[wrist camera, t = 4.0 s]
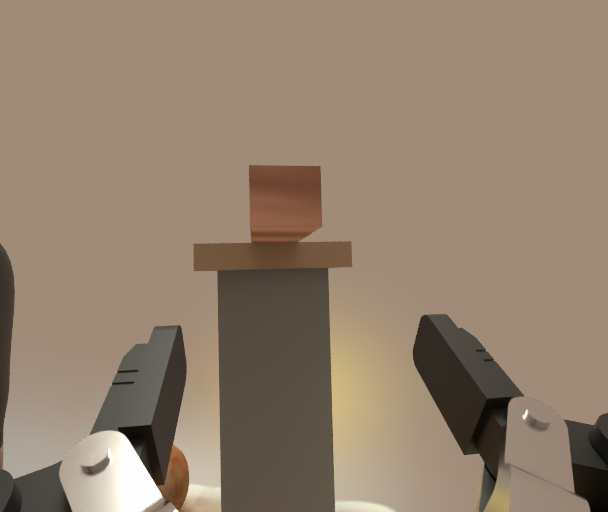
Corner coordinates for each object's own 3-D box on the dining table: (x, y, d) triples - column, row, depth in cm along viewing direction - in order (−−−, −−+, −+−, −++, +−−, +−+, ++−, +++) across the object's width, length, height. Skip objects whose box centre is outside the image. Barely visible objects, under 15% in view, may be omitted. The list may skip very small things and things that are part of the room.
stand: (364, 665, 27) (351, 241, 28) (200, 695, 25) (193, 243, 27) (323, 519, 43) (316, 251, 44) (220, 532, 41) (216, 253, 42)
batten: (322, 226, 18) (320, 166, 18) (250, 227, 17) (249, 165, 17) (281, 252, 43) (281, 227, 44) (252, 253, 43) (251, 228, 43)
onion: (151, 493, 49) (150, 418, 49) (207, 514, 44) (206, 431, 45) (79, 542, 40) (79, 451, 41) (140, 574, 36) (139, 472, 36)
